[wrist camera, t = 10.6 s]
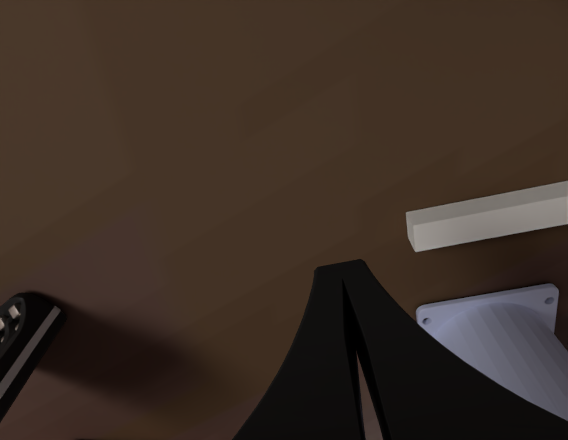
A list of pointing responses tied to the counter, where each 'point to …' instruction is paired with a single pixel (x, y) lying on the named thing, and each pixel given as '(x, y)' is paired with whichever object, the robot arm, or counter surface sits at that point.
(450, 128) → the counter surface
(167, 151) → the counter surface
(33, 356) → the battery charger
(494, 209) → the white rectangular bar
